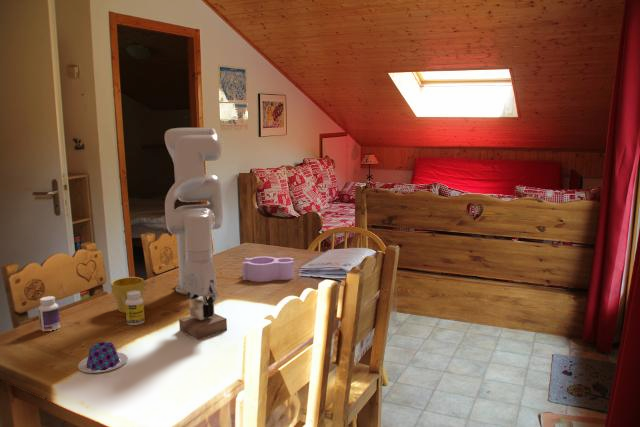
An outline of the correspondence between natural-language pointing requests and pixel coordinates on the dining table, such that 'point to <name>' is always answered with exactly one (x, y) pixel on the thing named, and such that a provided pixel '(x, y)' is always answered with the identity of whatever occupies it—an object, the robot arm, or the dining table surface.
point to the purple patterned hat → (102, 358)
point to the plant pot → (125, 289)
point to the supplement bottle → (134, 308)
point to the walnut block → (203, 326)
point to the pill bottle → (49, 314)
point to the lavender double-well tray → (268, 269)
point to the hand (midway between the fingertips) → (202, 313)
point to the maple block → (198, 308)
